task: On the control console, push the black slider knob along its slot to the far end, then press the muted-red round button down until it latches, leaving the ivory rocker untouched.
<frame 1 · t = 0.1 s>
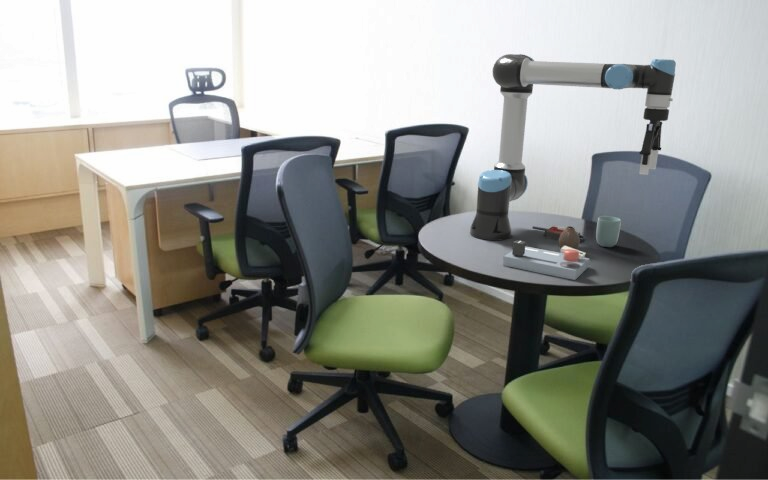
hand: (647, 171, 215), 28 cm above the table, fingers open, 13 cm apart
slider: (518, 248, 203), point 6 cm above the table, slide at 0.0 cm
cup: (605, 246, 228), on the table
vase: (567, 252, 220), on the table
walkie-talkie: (554, 237, 239), on the table
button: (571, 255, 194), point 6 cm above the table, slide at 0.0 cm
console: (545, 266, 203), on the table
rocker: (572, 252, 202), point 5 cm above the table, hinge at 10.0°
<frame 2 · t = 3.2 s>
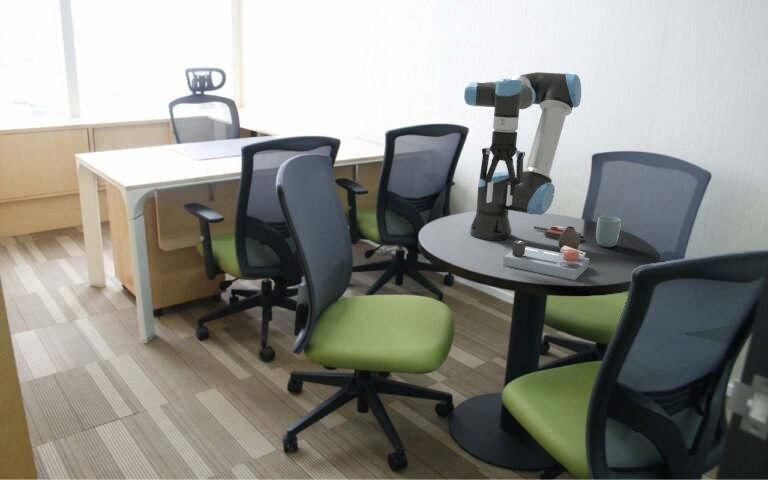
hand: (498, 203, 203), 19 cm above the table, fingers open, 6 cm apart
nothing on the table moved.
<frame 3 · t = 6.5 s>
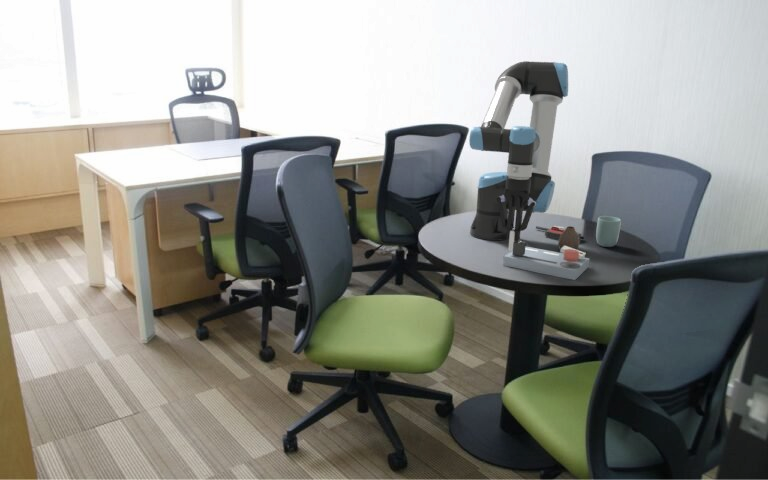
hand: (512, 249, 204), 5 cm above the table, fingers closed
slider: (519, 248, 202), point 6 cm above the table, slide at 0.1 cm, touching gripper
everything else where it was.
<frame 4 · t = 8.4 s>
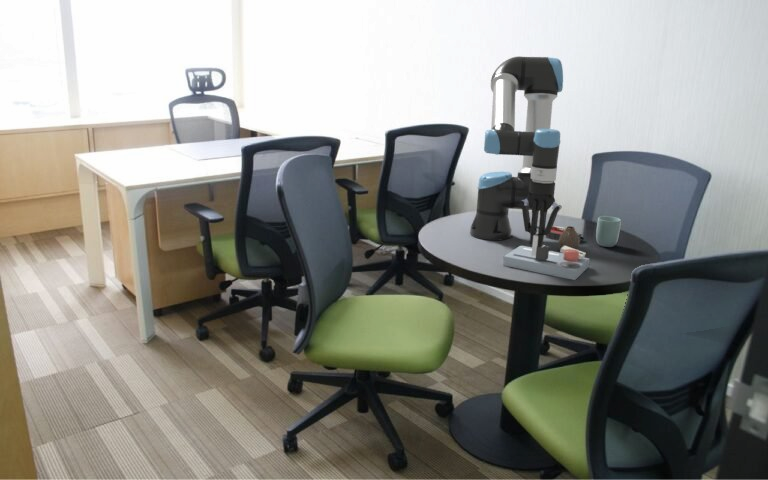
hand: (535, 254, 200), 4 cm above the table, fingers closed
slider: (542, 252, 199), point 6 cm above the table, slide at 7.7 cm, touching gripper
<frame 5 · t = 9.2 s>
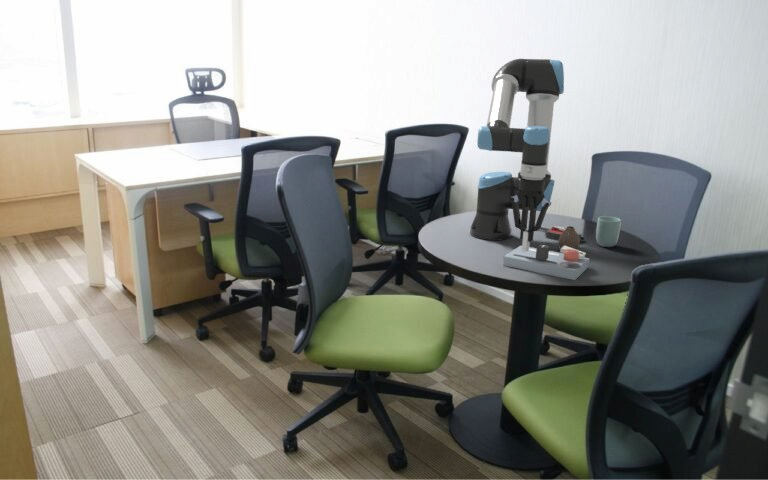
hand: (525, 250, 202), 5 cm above the table, fingers closed
slider: (542, 252, 199), point 6 cm above the table, slide at 7.7 cm
everything else where it was.
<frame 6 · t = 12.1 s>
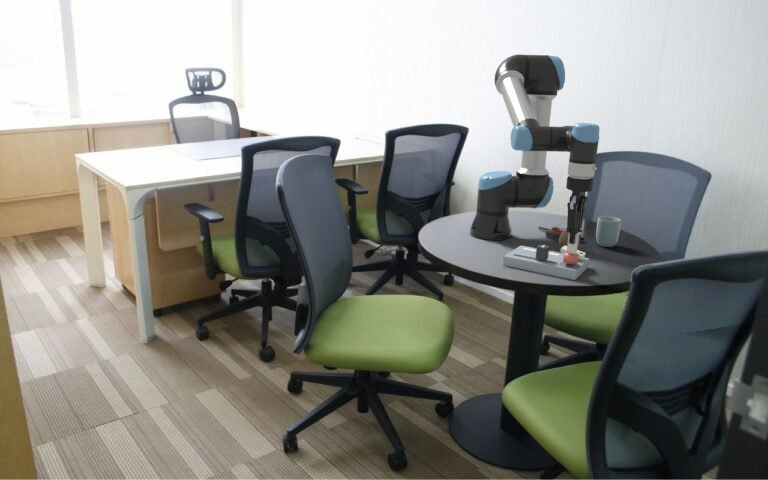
hand: (571, 252, 194), 7 cm above the table, fingers closed
button: (570, 257, 195), point 5 cm above the table, slide at -0.7 cm, touching gripper
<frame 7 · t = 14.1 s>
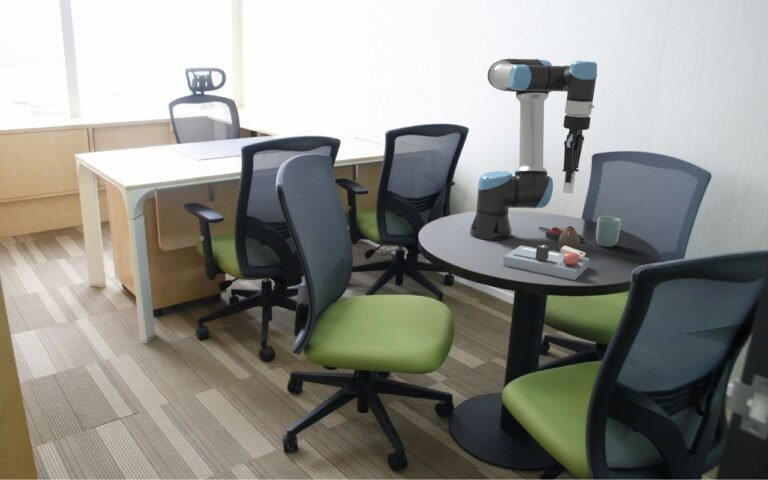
hand: (567, 192, 196), 24 cm above the table, fingers closed
button: (570, 258, 195), point 5 cm above the table, slide at -0.9 cm
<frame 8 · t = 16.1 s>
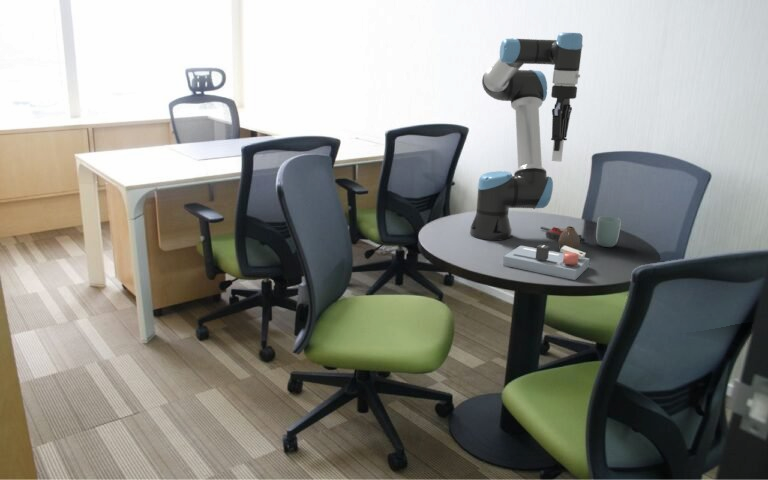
hand: (556, 160, 203), 32 cm above the table, fingers closed
at the end: slider slide at 7.7 cm; button slide at -0.9 cm; rocker at +10° (first picture: +10°) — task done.
